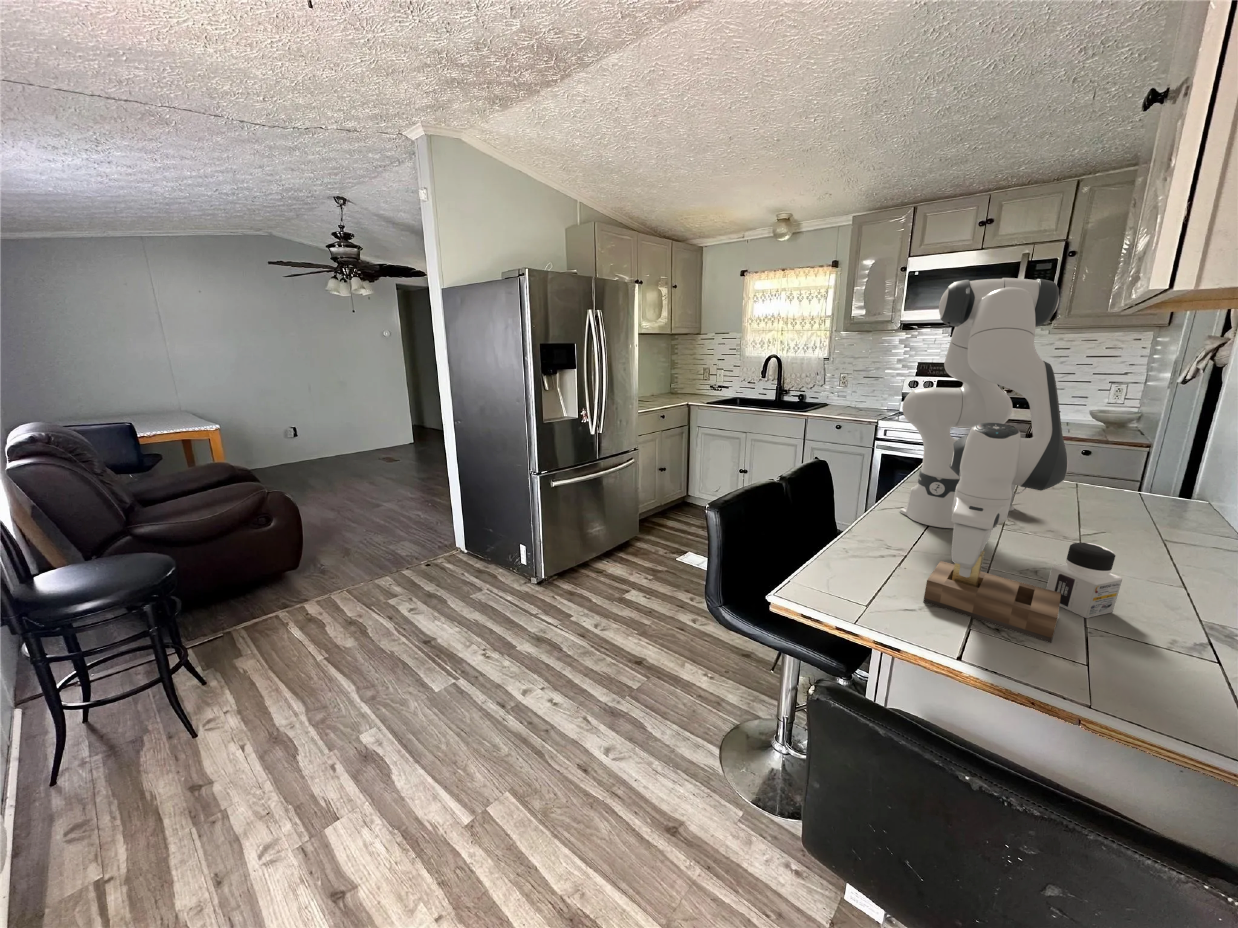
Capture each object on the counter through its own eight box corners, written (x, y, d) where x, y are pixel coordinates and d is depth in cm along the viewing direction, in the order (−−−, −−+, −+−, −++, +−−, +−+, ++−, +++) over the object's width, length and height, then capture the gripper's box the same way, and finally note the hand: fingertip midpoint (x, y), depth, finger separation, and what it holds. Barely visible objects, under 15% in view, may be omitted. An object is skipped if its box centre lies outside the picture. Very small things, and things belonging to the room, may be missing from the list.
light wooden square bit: (954, 580, 102) (961, 545, 100) (977, 586, 99) (984, 550, 97) (950, 587, 99) (957, 551, 97) (974, 593, 97) (981, 557, 95)
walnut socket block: (936, 581, 108) (940, 560, 107) (1055, 615, 95) (1061, 592, 93) (923, 601, 100) (927, 579, 98) (1051, 642, 86) (1057, 618, 85)
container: (1086, 619, 94) (1103, 557, 90) (1042, 598, 101) (1057, 541, 98) (1113, 612, 96) (1131, 552, 92) (1068, 593, 103) (1083, 536, 100)
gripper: (970, 491, 104) (958, 550, 108) (950, 515, 90) (937, 583, 93) (1007, 498, 100) (994, 559, 104) (992, 524, 86) (977, 594, 89)
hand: (967, 570), depth 98 cm, fingers closed on light wooden square bit, 4 cm apart
